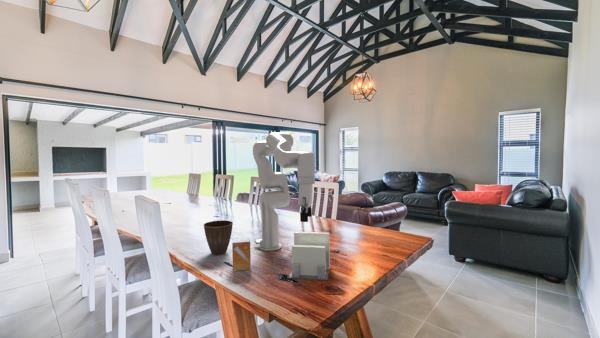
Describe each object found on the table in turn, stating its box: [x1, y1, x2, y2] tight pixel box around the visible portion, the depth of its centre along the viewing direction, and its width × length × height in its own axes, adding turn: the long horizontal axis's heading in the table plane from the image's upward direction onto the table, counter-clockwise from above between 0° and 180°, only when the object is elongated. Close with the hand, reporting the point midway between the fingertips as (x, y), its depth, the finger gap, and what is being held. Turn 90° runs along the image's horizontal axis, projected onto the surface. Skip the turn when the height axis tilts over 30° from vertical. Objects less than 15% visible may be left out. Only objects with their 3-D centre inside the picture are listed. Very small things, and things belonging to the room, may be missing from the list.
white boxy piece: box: [288, 231, 331, 282], centre depth 122 cm, size 16×14×16 cm
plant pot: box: [203, 220, 233, 256], centre depth 150 cm, size 15×15×16 cm
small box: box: [231, 237, 252, 272], centre depth 129 cm, size 8×6×13 cm
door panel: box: [291, 244, 327, 276], centre depth 120 cm, size 14×2×12 cm, turn 80°
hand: (306, 218), depth 124 cm, fingers open, 9 cm apart
